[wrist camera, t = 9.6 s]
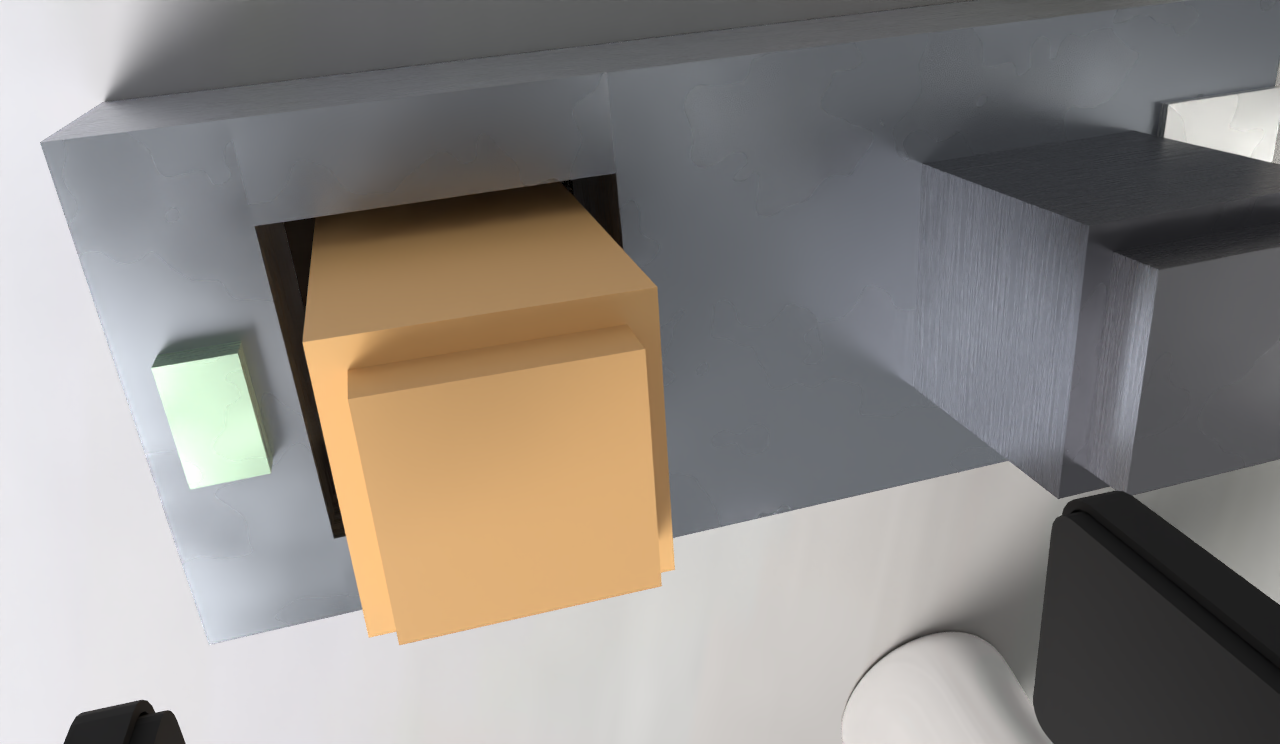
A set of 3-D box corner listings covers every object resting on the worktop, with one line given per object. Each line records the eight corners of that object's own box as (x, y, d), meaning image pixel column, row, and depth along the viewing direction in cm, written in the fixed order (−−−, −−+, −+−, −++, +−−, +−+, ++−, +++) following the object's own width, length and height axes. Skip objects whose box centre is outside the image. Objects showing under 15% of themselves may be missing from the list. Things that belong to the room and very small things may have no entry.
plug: (545, 165, 22) (677, 309, 13) (566, 365, 24) (693, 604, 15) (317, 193, 21) (299, 371, 12) (360, 401, 23) (370, 680, 14)
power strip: (1141, -20, 24) (1630, 0, 15) (1096, 347, 29) (1457, 540, 19) (102, 102, 19) (-120, 245, 10) (231, 526, 24) (158, 904, 14)
